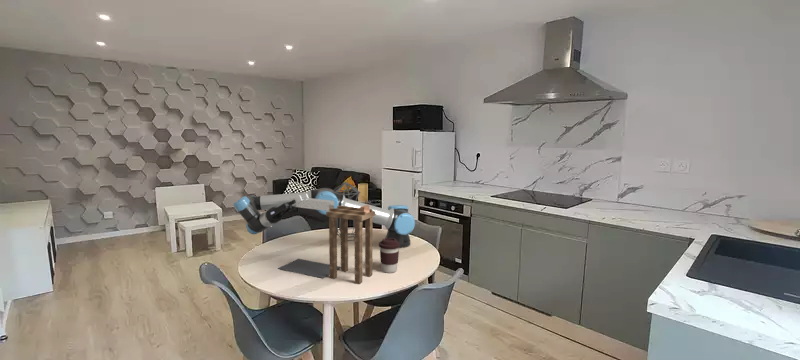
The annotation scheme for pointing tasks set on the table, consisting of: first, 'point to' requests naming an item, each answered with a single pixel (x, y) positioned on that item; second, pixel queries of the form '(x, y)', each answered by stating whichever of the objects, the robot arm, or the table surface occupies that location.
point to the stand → (346, 214)
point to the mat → (308, 268)
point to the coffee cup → (389, 254)
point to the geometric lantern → (346, 198)
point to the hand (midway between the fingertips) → (304, 197)
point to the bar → (314, 204)
